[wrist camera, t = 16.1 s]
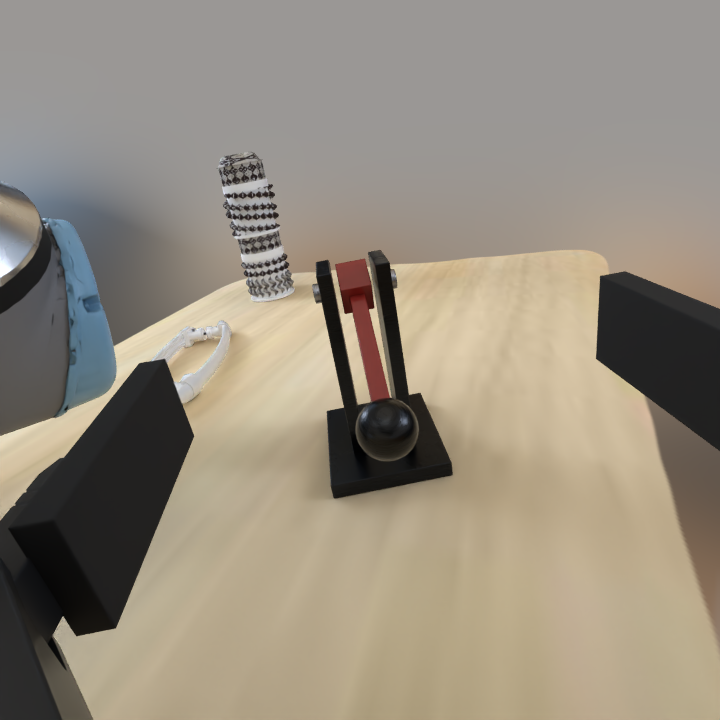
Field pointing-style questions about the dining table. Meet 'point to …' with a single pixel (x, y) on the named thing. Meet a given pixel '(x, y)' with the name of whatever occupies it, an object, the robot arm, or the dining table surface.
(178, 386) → the door handle
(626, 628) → the dining table surface
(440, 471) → the bracket
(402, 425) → the lever
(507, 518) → the dining table surface
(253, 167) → the decorative candle
